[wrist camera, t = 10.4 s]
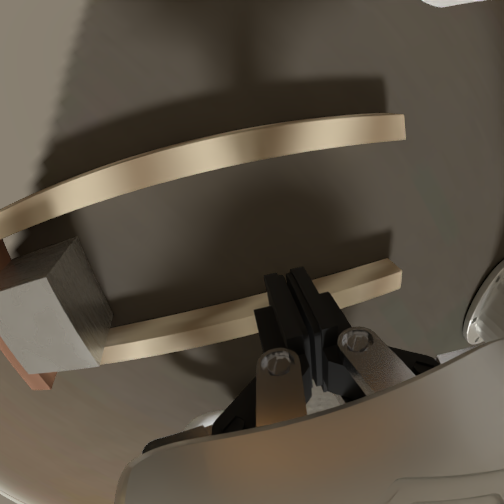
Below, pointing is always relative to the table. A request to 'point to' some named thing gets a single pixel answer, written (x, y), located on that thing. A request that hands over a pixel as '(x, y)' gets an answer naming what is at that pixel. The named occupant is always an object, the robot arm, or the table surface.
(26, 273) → the block
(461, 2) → the cup
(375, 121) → the u-shaped frame
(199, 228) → the table surface
